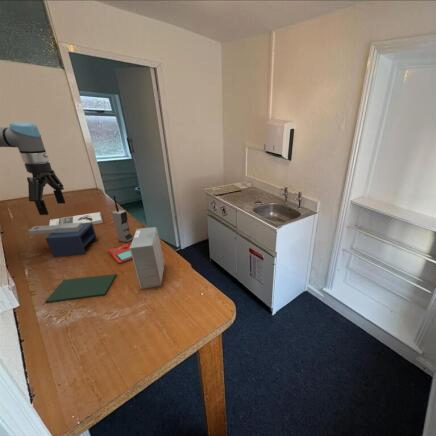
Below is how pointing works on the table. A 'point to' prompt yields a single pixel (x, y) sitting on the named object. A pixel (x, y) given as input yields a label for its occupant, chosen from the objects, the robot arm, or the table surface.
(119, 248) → the handheld gaming console
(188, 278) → the table surface
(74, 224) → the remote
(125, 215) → the vintage mobile phone
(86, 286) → the mat
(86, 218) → the book
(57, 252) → the navy slotted box
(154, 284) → the hard drive box
